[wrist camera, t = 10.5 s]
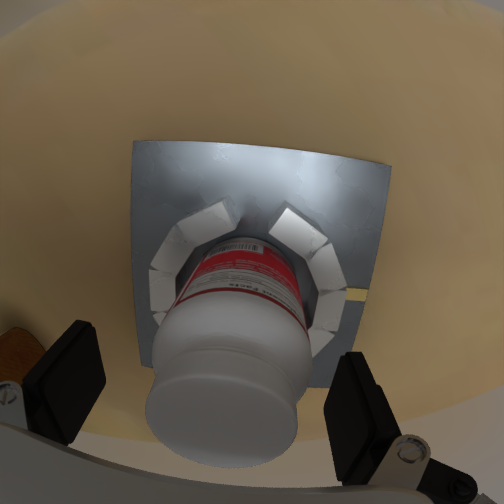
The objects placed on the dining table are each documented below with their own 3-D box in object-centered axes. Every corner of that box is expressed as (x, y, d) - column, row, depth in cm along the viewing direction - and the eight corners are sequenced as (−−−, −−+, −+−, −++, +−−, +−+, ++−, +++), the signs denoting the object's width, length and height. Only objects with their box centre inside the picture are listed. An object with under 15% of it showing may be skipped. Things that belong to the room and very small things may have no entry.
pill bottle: (246, 343, 20) (227, 491, 9) (176, 282, 19) (92, 410, 8) (318, 284, 18) (363, 428, 8) (244, 212, 17) (205, 306, 6)
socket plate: (146, 356, 22) (129, 387, 19) (141, 141, 17) (112, 139, 14) (336, 378, 22) (344, 412, 18) (384, 165, 17) (410, 168, 13)
